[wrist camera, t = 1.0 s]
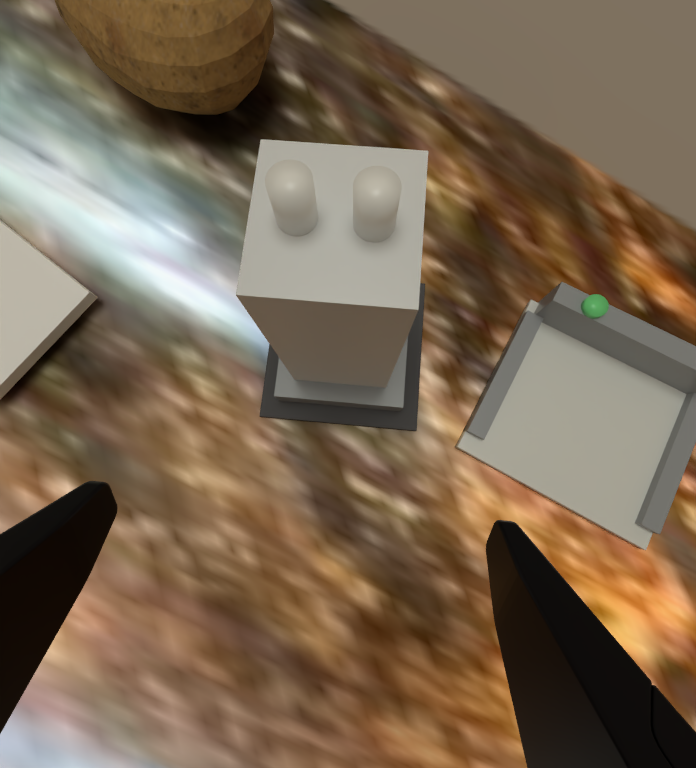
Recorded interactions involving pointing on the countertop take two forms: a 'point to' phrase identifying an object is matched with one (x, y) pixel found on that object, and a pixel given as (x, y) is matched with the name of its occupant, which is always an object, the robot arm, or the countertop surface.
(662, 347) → the port
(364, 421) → the pad
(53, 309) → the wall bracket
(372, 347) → the plug
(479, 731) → the countertop surface
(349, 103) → the countertop surface
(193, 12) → the potato
